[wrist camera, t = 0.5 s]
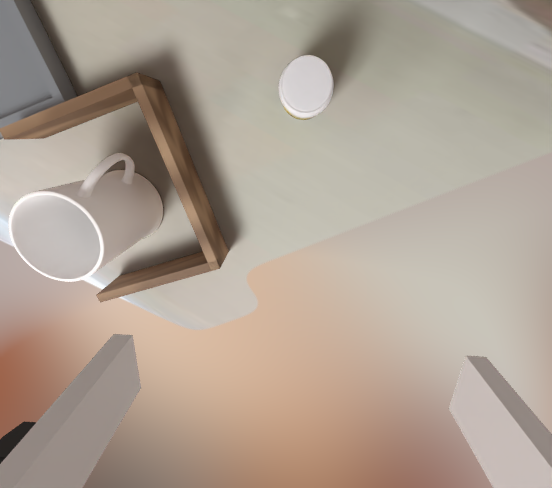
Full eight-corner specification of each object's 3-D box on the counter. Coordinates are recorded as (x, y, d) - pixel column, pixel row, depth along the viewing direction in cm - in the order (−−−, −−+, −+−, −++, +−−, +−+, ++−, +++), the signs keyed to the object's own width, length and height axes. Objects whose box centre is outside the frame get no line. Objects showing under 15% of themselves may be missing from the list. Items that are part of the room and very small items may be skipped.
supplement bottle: (286, 64, 31) (283, 41, 23) (331, 74, 31) (345, 54, 23) (276, 115, 32) (271, 109, 24) (320, 124, 32) (329, 122, 24)
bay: (39, 129, 34) (-2, 129, 29) (160, 80, 32) (136, 72, 27) (122, 282, 40) (100, 302, 36) (228, 251, 38) (219, 268, 33)
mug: (125, 129, 34) (40, 129, 22) (190, 177, 35) (142, 199, 24) (82, 212, 37) (-9, 247, 26) (143, 252, 39) (81, 301, 27)
